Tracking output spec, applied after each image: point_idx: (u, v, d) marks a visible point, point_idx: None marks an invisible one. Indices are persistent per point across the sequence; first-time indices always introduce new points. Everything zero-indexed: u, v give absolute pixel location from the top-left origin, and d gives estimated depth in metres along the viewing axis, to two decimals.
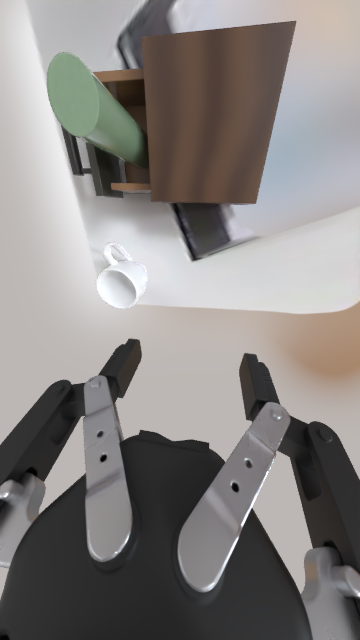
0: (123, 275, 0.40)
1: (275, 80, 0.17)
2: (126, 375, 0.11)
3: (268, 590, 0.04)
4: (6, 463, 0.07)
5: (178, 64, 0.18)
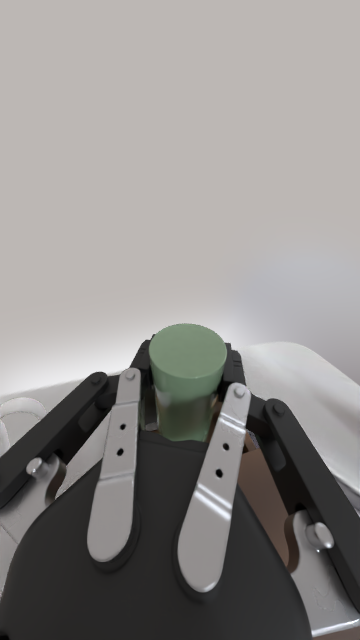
0: None
1: None
2: None
3: (268, 590, 0.04)
4: (40, 439, 0.07)
5: None
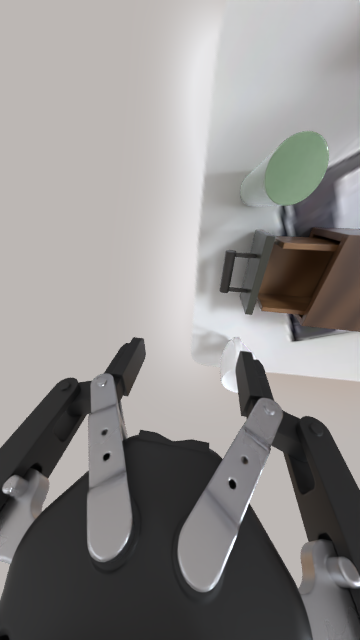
0: None
1: None
2: (131, 374, 0.12)
3: (268, 590, 0.04)
4: (12, 458, 0.07)
5: None
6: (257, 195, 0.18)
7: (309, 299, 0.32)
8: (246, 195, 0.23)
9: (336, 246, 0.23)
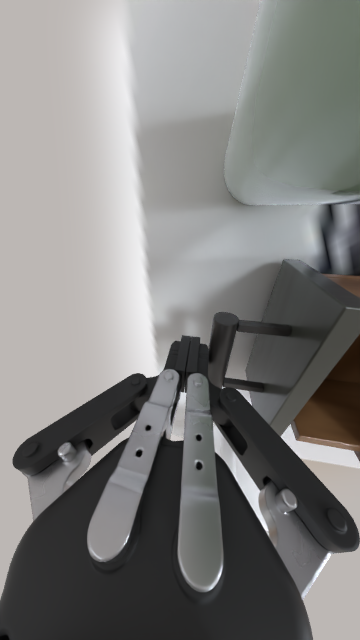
0: None
1: None
2: None
3: (268, 590, 0.04)
4: (76, 425, 0.08)
5: None
6: (310, 99, 0.02)
7: None
8: (234, 169, 0.07)
9: None
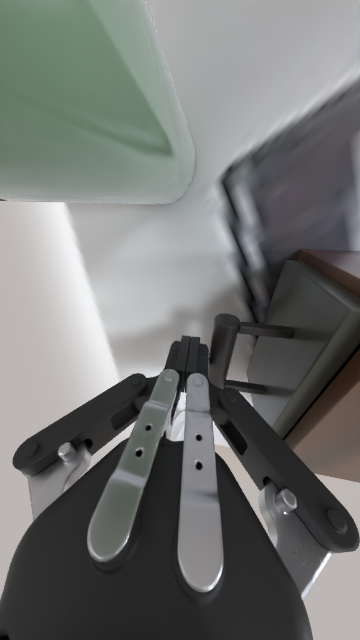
0: None
1: None
2: None
3: (268, 590, 0.04)
4: (76, 425, 0.08)
5: None
6: None
7: None
8: None
9: None
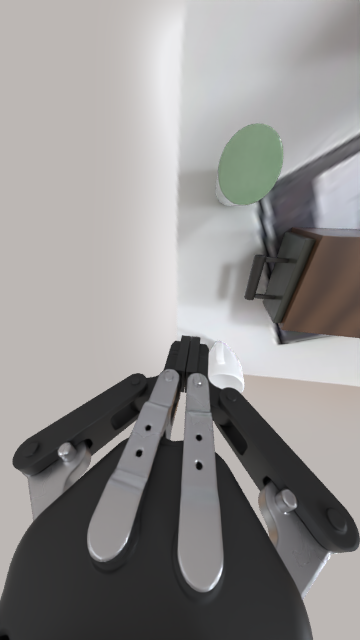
0: None
1: None
2: None
3: (268, 590, 0.04)
4: (76, 425, 0.08)
5: (350, 254, 0.20)
6: (220, 194, 0.17)
7: None
8: (217, 194, 0.22)
9: None
